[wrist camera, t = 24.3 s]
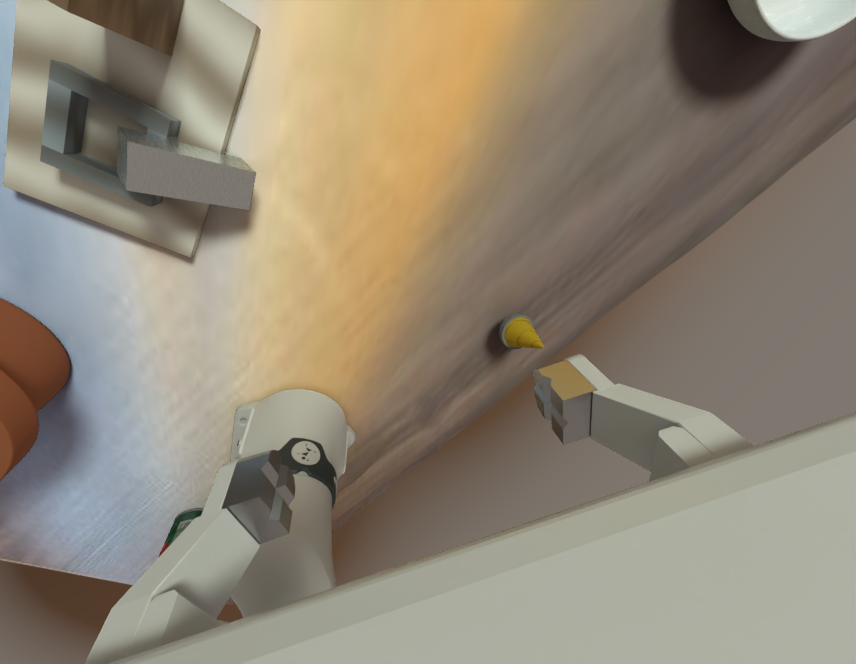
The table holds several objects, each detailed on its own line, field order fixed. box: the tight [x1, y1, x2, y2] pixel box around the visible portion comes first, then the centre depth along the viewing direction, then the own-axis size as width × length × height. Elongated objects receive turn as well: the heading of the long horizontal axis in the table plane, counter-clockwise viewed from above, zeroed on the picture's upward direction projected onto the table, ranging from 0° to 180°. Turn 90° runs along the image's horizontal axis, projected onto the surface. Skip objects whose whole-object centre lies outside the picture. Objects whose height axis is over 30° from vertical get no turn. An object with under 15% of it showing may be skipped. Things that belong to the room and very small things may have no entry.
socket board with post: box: [4, 0, 260, 257], centre depth 27 cm, size 24×16×16 cm, turn 150°
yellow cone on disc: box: [499, 313, 544, 349], centre depth 51 cm, size 5×5×10 cm
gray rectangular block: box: [117, 126, 256, 210], centre depth 33 cm, size 4×4×10 cm
